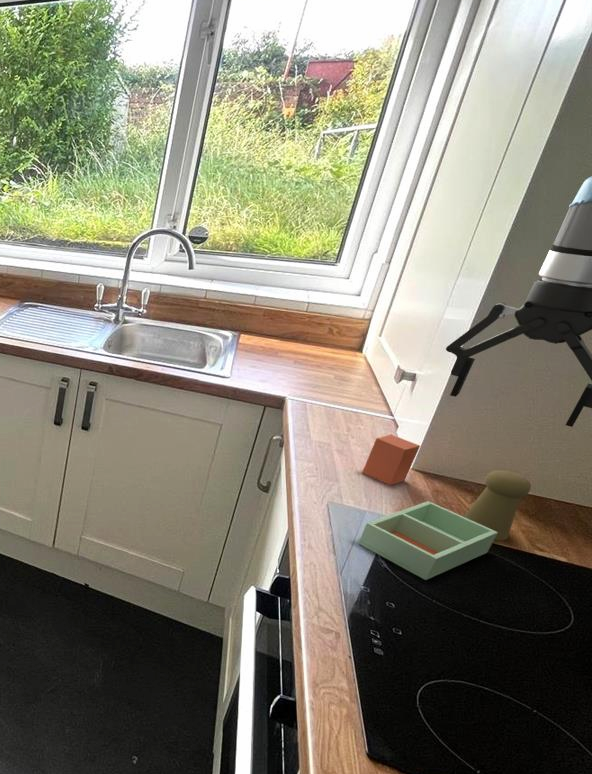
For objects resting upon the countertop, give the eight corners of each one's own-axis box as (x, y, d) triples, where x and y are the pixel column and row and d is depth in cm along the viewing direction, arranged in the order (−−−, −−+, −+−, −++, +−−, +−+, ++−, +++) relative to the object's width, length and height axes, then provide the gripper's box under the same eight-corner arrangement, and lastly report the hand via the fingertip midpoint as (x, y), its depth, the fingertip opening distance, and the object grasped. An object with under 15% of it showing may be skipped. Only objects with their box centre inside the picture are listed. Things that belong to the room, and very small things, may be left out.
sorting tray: (419, 520, 103) (428, 500, 101) (487, 552, 95) (498, 532, 94) (357, 543, 96) (366, 522, 95) (425, 580, 88) (436, 558, 87)
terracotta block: (404, 480, 116) (420, 445, 112) (389, 485, 114) (405, 449, 111) (376, 468, 120) (390, 434, 117) (361, 472, 118) (376, 438, 115)
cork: (460, 528, 101) (488, 474, 97) (459, 514, 105) (486, 461, 101) (509, 544, 97) (540, 489, 93) (506, 529, 101) (536, 475, 97)
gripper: (707, 297, 81) (627, 432, 89) (467, 265, 99) (418, 379, 107) (708, 303, 77) (624, 444, 85) (456, 269, 95) (407, 388, 103)
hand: (509, 408), depth 96 cm, fingers open, 13 cm apart
